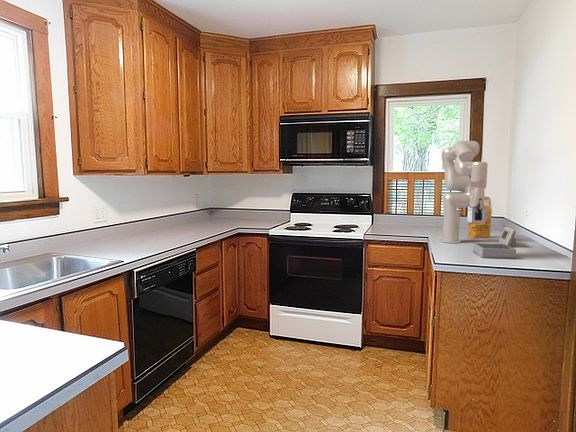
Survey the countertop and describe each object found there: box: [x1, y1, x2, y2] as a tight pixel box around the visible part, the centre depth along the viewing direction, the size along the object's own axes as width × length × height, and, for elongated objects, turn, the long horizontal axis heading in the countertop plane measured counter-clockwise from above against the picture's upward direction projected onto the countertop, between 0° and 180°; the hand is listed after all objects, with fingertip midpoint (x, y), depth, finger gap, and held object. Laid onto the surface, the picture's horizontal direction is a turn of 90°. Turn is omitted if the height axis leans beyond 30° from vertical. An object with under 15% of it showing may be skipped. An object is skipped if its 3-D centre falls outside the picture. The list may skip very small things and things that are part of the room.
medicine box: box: [466, 206, 486, 223], centre depth 206 cm, size 8×4×9 cm, turn 94°
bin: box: [472, 242, 517, 260], centre depth 206 cm, size 16×16×5 cm
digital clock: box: [498, 226, 517, 248], centre depth 235 cm, size 16×9×11 cm, turn 154°
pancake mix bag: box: [467, 196, 493, 239], centre depth 264 cm, size 7×19×28 cm, turn 97°
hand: (476, 219), depth 206 cm, fingers closed on medicine box, 5 cm apart
